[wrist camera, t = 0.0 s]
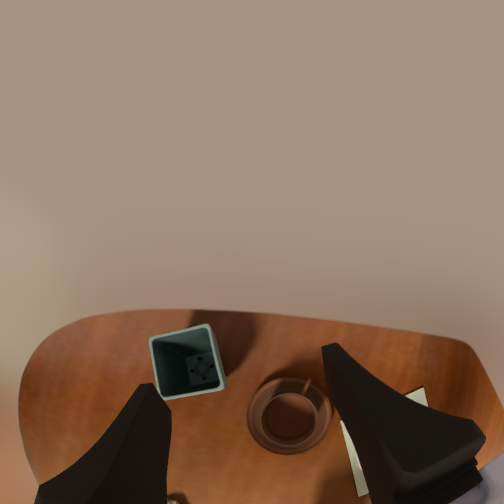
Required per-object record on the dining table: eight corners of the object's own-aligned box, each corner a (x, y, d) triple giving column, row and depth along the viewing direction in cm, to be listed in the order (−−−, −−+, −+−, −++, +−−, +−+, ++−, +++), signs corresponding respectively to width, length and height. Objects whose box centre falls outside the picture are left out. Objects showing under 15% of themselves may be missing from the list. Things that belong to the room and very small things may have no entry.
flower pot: (223, 335, 44) (209, 322, 36) (237, 389, 40) (224, 389, 32) (172, 347, 44) (147, 337, 36) (183, 400, 40) (159, 401, 32)
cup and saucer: (254, 372, 41) (248, 370, 36) (334, 379, 39) (341, 378, 34) (243, 447, 36) (235, 455, 31) (323, 454, 34) (329, 464, 29)
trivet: (438, 460, 29) (439, 461, 29) (358, 496, 30) (358, 496, 29) (422, 387, 36) (423, 387, 36) (340, 420, 36) (340, 420, 36)
